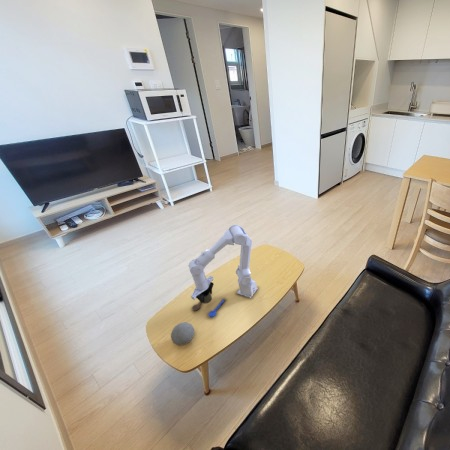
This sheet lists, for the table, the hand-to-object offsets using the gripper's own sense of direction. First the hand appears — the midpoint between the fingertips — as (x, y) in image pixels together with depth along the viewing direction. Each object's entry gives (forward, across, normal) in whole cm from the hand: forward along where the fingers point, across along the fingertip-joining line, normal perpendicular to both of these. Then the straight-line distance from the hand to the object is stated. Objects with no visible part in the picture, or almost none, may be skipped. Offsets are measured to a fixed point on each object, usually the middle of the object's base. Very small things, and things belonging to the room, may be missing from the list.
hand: (206, 297), depth 128 cm
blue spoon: (+7, 0, +6) cm, 9 cm away
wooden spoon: (+7, 0, -6) cm, 9 cm away
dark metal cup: (+1, 0, 0) cm, 1 cm away
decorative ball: (+7, +20, +3) cm, 21 cm away
